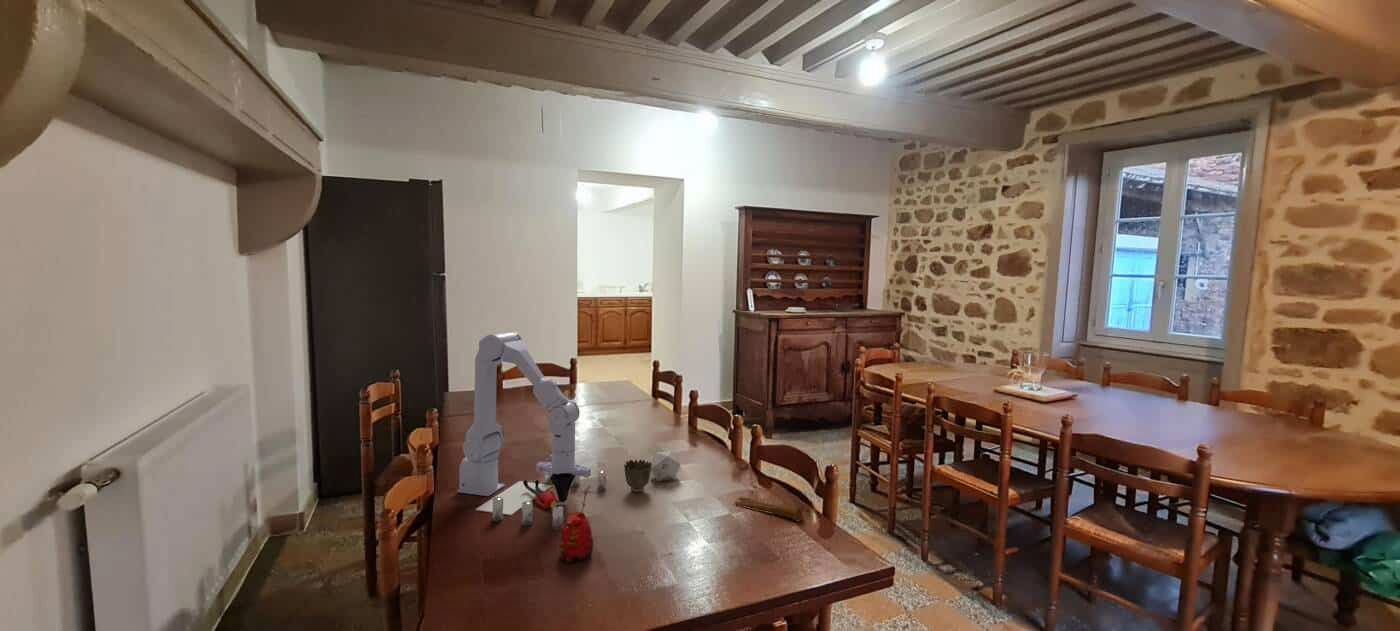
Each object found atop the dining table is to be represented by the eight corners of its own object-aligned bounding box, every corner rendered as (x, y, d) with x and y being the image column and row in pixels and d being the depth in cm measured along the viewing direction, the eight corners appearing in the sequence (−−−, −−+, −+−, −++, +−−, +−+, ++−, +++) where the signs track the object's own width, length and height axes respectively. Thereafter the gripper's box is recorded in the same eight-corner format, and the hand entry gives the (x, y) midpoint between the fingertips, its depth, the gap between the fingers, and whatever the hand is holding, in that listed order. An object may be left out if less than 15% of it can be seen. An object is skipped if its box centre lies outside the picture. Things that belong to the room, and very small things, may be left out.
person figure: (539, 473, 157) (565, 496, 143) (542, 485, 158) (569, 509, 144) (521, 481, 155) (546, 506, 140) (525, 494, 156) (550, 520, 141)
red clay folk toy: (557, 550, 125) (557, 483, 124) (589, 545, 128) (590, 479, 126) (562, 567, 118) (562, 496, 117) (596, 561, 121) (597, 492, 119)
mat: (475, 510, 144) (475, 509, 144) (519, 482, 163) (519, 481, 163) (511, 515, 141) (511, 514, 141) (551, 486, 160) (551, 485, 160)
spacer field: (490, 520, 138) (490, 500, 138) (547, 480, 165) (548, 463, 164) (559, 530, 134) (560, 510, 133) (607, 488, 160) (607, 470, 160)
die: (643, 480, 169) (649, 461, 163) (655, 458, 176) (661, 439, 170) (668, 492, 168) (675, 473, 162) (679, 470, 175) (686, 451, 169)
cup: (646, 498, 154) (646, 469, 153) (620, 495, 156) (620, 466, 155) (654, 488, 161) (654, 460, 161) (628, 485, 163) (629, 457, 162)
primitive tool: (730, 505, 152) (731, 493, 152) (740, 499, 157) (741, 486, 156) (797, 525, 142) (798, 511, 141) (806, 517, 146) (807, 504, 146)
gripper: (529, 451, 145) (529, 503, 147) (582, 457, 142) (581, 510, 143) (544, 443, 152) (543, 492, 153) (594, 448, 149) (593, 499, 150)
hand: (563, 500), depth 149 cm, fingers closed
